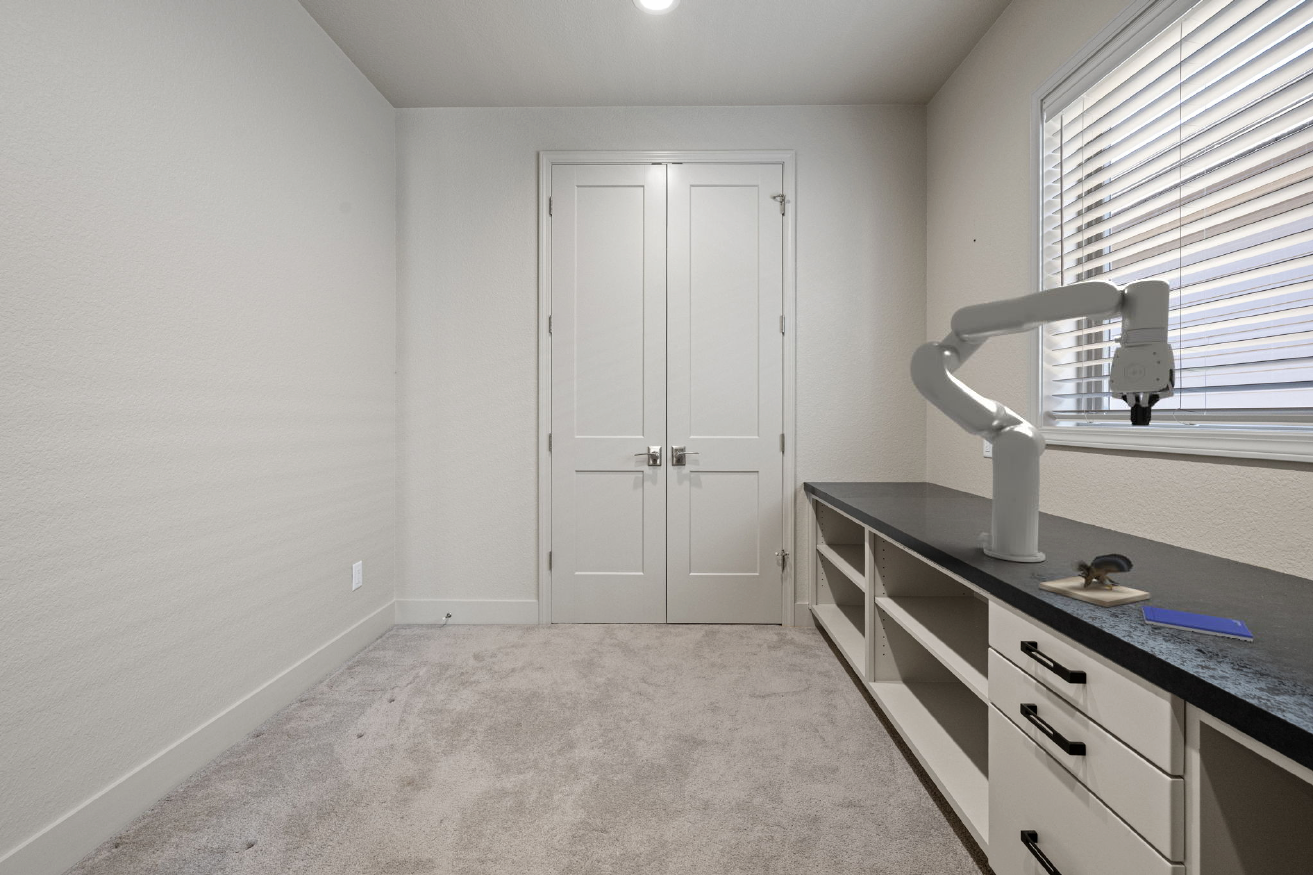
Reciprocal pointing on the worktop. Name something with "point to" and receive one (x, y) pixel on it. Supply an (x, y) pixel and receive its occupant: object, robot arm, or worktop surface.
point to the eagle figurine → (1102, 568)
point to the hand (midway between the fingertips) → (1140, 425)
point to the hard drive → (1197, 623)
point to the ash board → (1094, 591)
